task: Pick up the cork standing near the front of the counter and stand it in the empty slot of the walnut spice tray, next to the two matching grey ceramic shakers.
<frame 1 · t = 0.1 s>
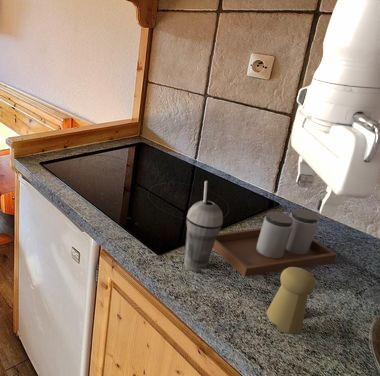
hand: (313, 198, 59), 27 cm above the worktop, tool pointing down, fingers open, 8 cm apart
cork: (282, 322, 74), on the worktop
grey shaker 2: (269, 251, 93), resting on spice tray
spice tray: (266, 254, 94), on the worktop
beverage cup: (194, 266, 89), on the worktop
grey shaker 1: (294, 247, 95), resting on spice tray
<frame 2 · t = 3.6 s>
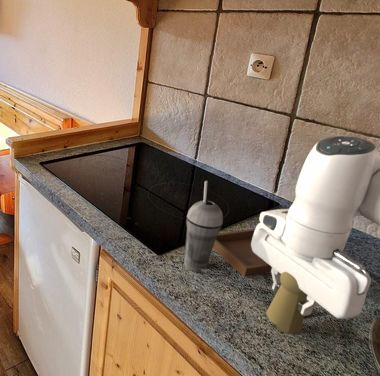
hand: (290, 301, 72), 5 cm above the worktop, tool pointing down, fingers closed on cork, 4 cm apart
cork: (282, 322, 74), on the worktop, touching gripper
everything else where it was.
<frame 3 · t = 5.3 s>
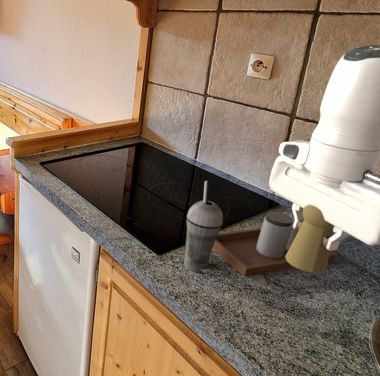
hand: (313, 238, 66), 18 cm above the worktop, tool pointing down, fingers closed on cork, 4 cm apart
cork: (305, 263, 68), point 13 cm above the worktop, touching gripper
everything else where it was.
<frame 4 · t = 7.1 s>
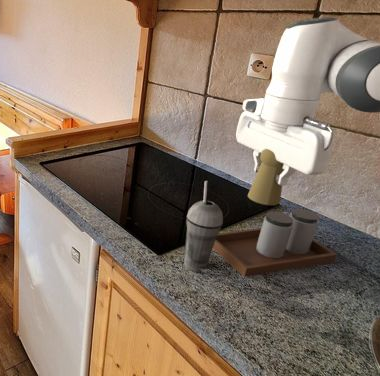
hand: (269, 178, 82), 21 cm above the worktop, tool pointing down, fingers closed on cork, 4 cm apart
cork: (263, 199, 84), point 16 cm above the worktop, touching gripper
everything else where it was.
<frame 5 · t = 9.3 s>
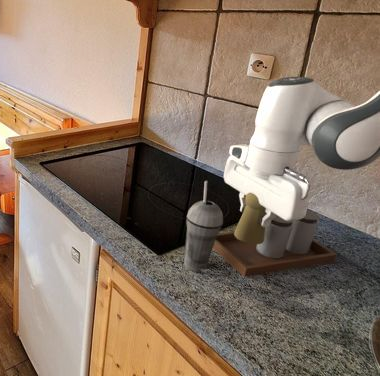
hand: (253, 218, 88), 10 cm above the worktop, tool pointing down, fingers closed on cork, 4 cm apart
cork: (248, 237, 90), point 5 cm above the worktop, touching gripper
everything else where it was.
when the fingers open (5 cm above the worktop, at t = 10.9 s): cork stays where it is, resting on spice tray.
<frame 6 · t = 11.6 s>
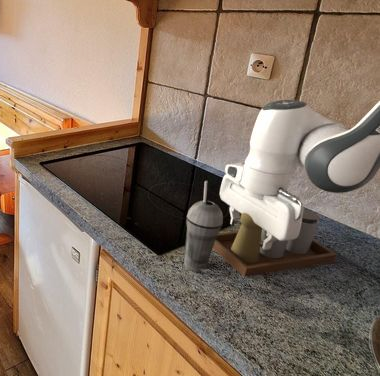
hand: (249, 236, 90), 6 cm above the worktop, tool pointing down, fingers open, 8 cm apart
cork: (243, 255, 92), point 1 cm above the worktop, touching spice tray
everything else where it was.
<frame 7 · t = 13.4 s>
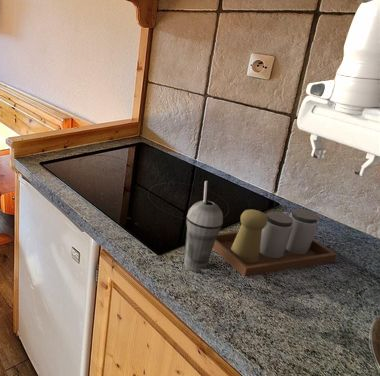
hand: (338, 165, 77), 25 cm above the worktop, tool pointing down, fingers open, 8 cm apart
nothing on the worktop moved.
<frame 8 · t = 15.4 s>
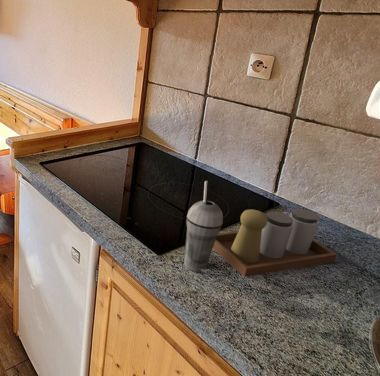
nothing on the worktop moved.
at the end: cork 0.1 cm from the target spot in the spice tray, point 0.6 cm above the spice tray's base; cork tilted 0°; the gripper is holding nothing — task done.
